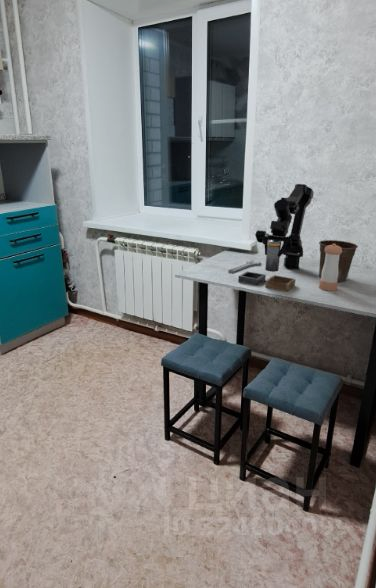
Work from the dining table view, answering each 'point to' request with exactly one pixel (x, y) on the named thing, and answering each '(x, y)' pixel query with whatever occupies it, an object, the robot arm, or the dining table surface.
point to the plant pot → (344, 257)
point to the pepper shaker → (330, 268)
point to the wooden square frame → (280, 283)
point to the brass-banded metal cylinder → (273, 255)
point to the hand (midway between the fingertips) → (272, 255)
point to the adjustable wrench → (244, 266)
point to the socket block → (252, 278)
